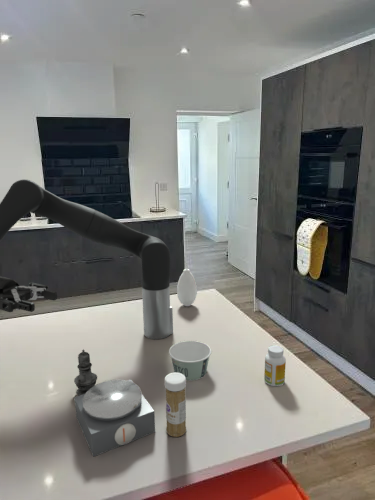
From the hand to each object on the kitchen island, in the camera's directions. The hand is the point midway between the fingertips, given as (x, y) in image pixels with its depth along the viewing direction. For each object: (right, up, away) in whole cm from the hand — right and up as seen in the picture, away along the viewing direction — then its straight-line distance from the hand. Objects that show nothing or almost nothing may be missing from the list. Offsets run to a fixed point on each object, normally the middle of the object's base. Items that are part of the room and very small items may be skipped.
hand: (45, 301), depth 97 cm
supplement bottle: (+60, -22, +5) cm, 64 cm away
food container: (+37, -21, +11) cm, 44 cm away
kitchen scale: (+20, -27, -10) cm, 35 cm away
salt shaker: (+10, -24, +2) cm, 26 cm away
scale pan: (+20, -22, -11) cm, 32 cm away
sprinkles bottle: (+34, -27, -12) cm, 45 cm away
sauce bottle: (+36, -9, +57) cm, 68 cm away
